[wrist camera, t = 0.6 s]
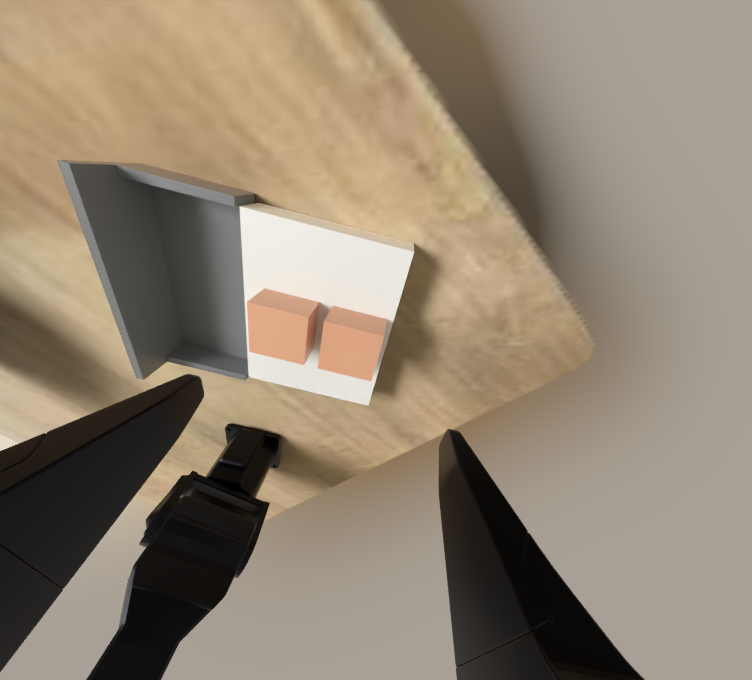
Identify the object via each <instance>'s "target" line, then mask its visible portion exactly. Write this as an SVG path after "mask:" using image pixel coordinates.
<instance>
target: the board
mask: <svg viewBox="0 0 752 680" xmlns="http://www.w3.org/2000/svg"><path fill="white" fill-rule="evenodd" d="M240 225H241V243H242V262H243V281H244V300H245V318H246V337H247V356H248V374H249V377H251V378H255V379H260V380H264V381H268V382H272V383H276V384H280V385H284V386H289V387H293V388H297V389H301V390H305V391H309V392H314V393H318V394H322V395H326V396H330V397H334V398H338V399H343V400H347V401H351V402H355V403H359V404H363V405H369V402H370V398H371V395H372V392H373V388H374V385H375V382H376V378H377V375H378V372H379V368H380V365H381V362H382V358H383V355H384V352H385V348H386V345H387V342H388V338H389V335H390V332H391V328H392V325H393V321H394V318H395V315H396V311H397V308H398V305H399V301H400V298H401V295H402V291H403V288H404V285H405V281H406V278H407V275H408V271H409V268H410V265H411V261H412V258H413V255H414V243H411V242H407V241H403V240H400V239H396V238H392V237H388V236H384V235H380V234H377V233H373V232H369V231H365V230H361V229H357V228H354V227H350V226H346V225H342V224H338V223H335V222H331V221H327V220H323V219H319V218H315V217H312V216H308V215H304V214H300V213H296V212H293V211H289V210H285V209H281V208H277V207H273V206H270V205H266V204H262V203H255V204H250V205H244V206H240ZM264 288H265V289H269V290H273V291H277V292H281V293H285V294H289V295H293V296H297V297H301V298H305V299H309V300H313V301H317V302H319V309H318V318H317V326H316V335H315V343H314V348H313V350H312V352H311V353H310V355H309V357H308V359H307V361H306V362H305V364H304V365H302V364H297V363H293V362H289V361H285V360H281V359H277V358H273V357H269V356H265V355H260V354H256V353H252V352H249V335H248V314H247V301H249V300H250V299H251V298H253V297H254V296H255V295H256V294H258V293H259V292H260V291H262V290H263V289H264ZM332 306H337V307H341V308H345V309H349V310H353V311H357V312H361V313H365V314H369V315H373V316H377V317H381V318H385V319H387V322H386V329H385V336H384V339H383V343H382V346H381V350H380V353H379V357H378V360H377V364H376V367H375V371H374V374H373V378H372V381H367V380H363V379H359V378H355V377H351V376H347V375H343V374H338V373H334V372H330V371H326V370H322V369H318V362H319V354H320V347H321V339H322V331H323V324H324V320H325V318H326V317H327V315H328V313H329V311H330V310H331V308H332Z"/></svg>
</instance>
